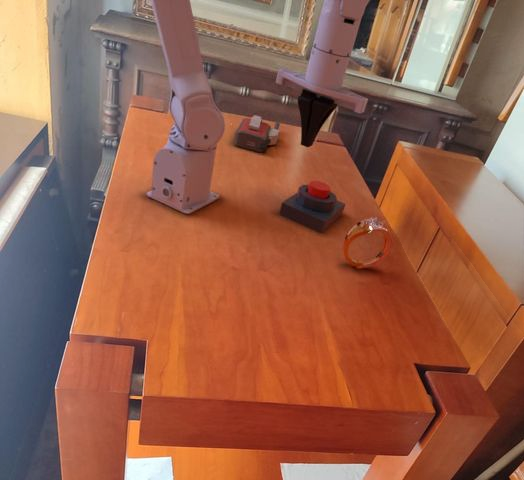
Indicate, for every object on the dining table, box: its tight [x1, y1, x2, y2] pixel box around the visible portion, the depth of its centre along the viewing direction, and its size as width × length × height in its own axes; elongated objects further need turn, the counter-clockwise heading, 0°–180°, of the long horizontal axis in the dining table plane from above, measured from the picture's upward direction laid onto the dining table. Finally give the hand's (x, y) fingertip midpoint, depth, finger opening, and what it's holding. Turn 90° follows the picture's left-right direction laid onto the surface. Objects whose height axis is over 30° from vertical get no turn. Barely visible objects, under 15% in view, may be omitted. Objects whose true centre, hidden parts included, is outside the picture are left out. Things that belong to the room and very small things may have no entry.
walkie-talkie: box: [233, 114, 281, 153], centre depth 107 cm, size 9×4×20 cm
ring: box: [342, 216, 392, 270], centre depth 71 cm, size 7×3×8 cm, turn 93°
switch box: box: [278, 184, 346, 234], centre depth 83 cm, size 10×8×4 cm
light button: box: [307, 180, 331, 199], centre depth 81 cm, size 4×4×2 cm
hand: (306, 144), depth 80 cm, fingers closed
